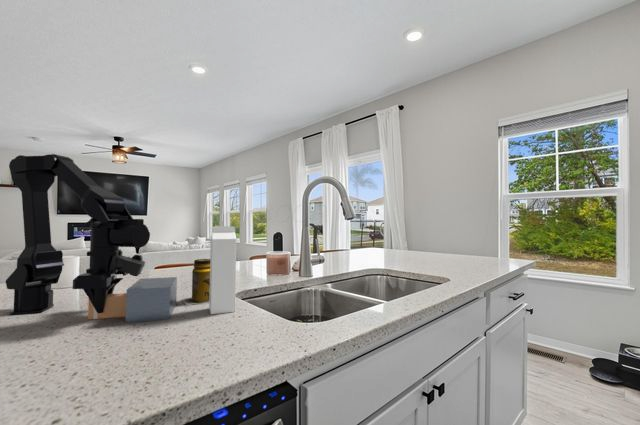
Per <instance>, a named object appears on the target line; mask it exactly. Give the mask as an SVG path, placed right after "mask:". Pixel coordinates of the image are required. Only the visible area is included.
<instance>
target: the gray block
mask: <svg viewBox="0 0 640 425" xmlns="http://www.w3.org/2000/svg"><path fill="white" fill-rule="evenodd" d="M177 284H178V277H177V276H173V277H172V276H171V277H153V278H151V277H149V278H140V279H139V280H137V281H136V282H134V283H133V284H132V285H131V286H129V287H128V288H127V289H126V293H127V294H126V316H125V324H127V323H129V324H130V323H139V322H149V321H153V322H154V321H160V320H161V321H163V320H171V319H170V318H171V317H172V314H173V313H174V310H175V308H176V305H177V295H178V294H177V292H178V291H177V290H178V286H177Z"/></svg>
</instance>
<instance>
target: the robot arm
mask: <svg viewBox="0 0 640 425" xmlns="http://www.w3.org/2000/svg"><path fill="white" fill-rule="evenodd" d="M8 167H9V172H10V177H11V180H12V182H13V183H14V185H16V186H17V188H18V189H19V190H20V191H21V202H22V203H21V204H22V218H23V232H24V249H23V250H22V252H21V253H20V254H19V255H18V258H16V268H15V269H14V271H13V272H12V273H10V275H9V276H8V278H7V279H6V280H5V286H6V289H7V290H13V291H14V292H13V310H12V311H11V310H10V311H9V313H8V314H9V315H21V314H22V315H23V314H34V313H43V312H45V311H46V310H48V309H50V308H52V307H54V290H53V289H52V285H55V284H58V283H59V279H60V277H61V274H62V272H63V267H64V266H65V264H64V260H63V251H62V250H61V249H60V250H59V249H58V250H57V249H56V248H55V247H54V245H53V244H52V235H51V234H52V231H51V220H50V219H51V217H50V210H49V209H50V208H49V206H50V205H49V192H48V191H49V190H50V189H51V187H52V185H54V183H55V181H56V180H55V178H56V177H57V178H59V179H60V180H61V181H62V182H63V183H64V184H65V185H66V186H67V187H68V188H69V189H70V190H72V191H73V192H74V193H75V194H76V196H78V197H79V198H80V206H81V208H82V209H83V210H84V212H85V213H86V214H87V216H89V217H90V219H89V220H88V221H86V222H85V223H84V224H83V228H84V229H85V228H87V229H88V228H90V242H89V244H90V245H89V246H90V247H89V251H87V252H86V257H89V268H87V269H86V271H85V272H84V273H82V274H79V275H77V276H76V277H75V278H74V279H72V290H83V291H84V293H85V294H86V297H87V298H88V300H89V299H90V301H91V303H92V305H93V306H94V308H95V310H96V312H97V313H103V311H104V307H105V302H106V297H107V294H114V291H115V287H116V286H117V285H118V284H119V283H120V282H121V281H122V280H124V278H123V277H118V276H117V275H122V276H127V275H130V276H132V277H139V275H141V273H142V271H143V269H144V267H145V264H146V262H145V260H143V255H139V254H134V255H133V256H132V257H131V256H126V255H125V256H124V255H123V250H122V249H120V248H144V247H145V246H146V245H148V243H149V241H150V237H151V232H150V231H149V228H148V227H147V224H144V223H145V221H144V219H143V218H133V216H132V214H131V213H130V211H129V209H128V208H127V206H126V202H125V200H124V199H123V198H122V197H120V196H119V195H117V194H115V193H114V192H112V191H109V190H107V189H105V188H102V187H101V186H100V185H99V184H97V183H96V182H95V181H94V180H93V179H92V178H91V177H90V176H88V175H87V174H86V173H85V172H84V171H83V170H82V169H81V168H80V167H79V166H78V165H77V164H75V161H74V160H73V159H72V158H71V157H69V156H65V155H60V154H54V153H51V154H45V155H21V154H20V155H17V156H16V157H15V158H13V159H11V160H10V162H9V164H8Z"/></svg>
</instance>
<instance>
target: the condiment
mask: <svg viewBox="0 0 640 425" xmlns="http://www.w3.org/2000/svg"><path fill="white" fill-rule="evenodd" d="M193 264H194V265H193V269H192V276H191V278H192V279H191V297H190V298H187V297H185V298H181V300H182V301H183V303H184V304H185V306H189V305H190V306H191V305H197V304H208V303H209V300H210V258H199V259H195V260H194V261H193Z"/></svg>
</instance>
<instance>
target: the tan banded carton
mask: <svg viewBox="0 0 640 425" xmlns="http://www.w3.org/2000/svg"><path fill="white" fill-rule="evenodd" d="M126 294H127V292H123V293H113V294H107V297H106V302H105V307H104V311H103V313H97V312H96V310H95V308H94V306H93V305H92V303H91V301H90V299H89V298H88V303H87V304H88V305H87V306H88V307H87V320H96V319H97V320H99V319H108V318H109V319H110V318H122V317H123V318H124V317H126Z"/></svg>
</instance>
